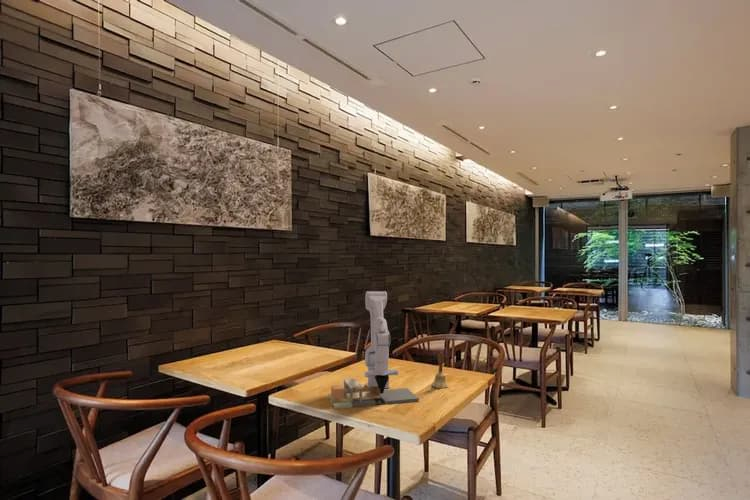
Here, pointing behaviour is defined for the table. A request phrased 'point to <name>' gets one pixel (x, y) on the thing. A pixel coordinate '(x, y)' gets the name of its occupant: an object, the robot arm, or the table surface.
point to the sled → (372, 394)
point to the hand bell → (440, 374)
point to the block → (337, 392)
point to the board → (380, 399)
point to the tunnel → (352, 388)
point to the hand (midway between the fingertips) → (381, 392)
